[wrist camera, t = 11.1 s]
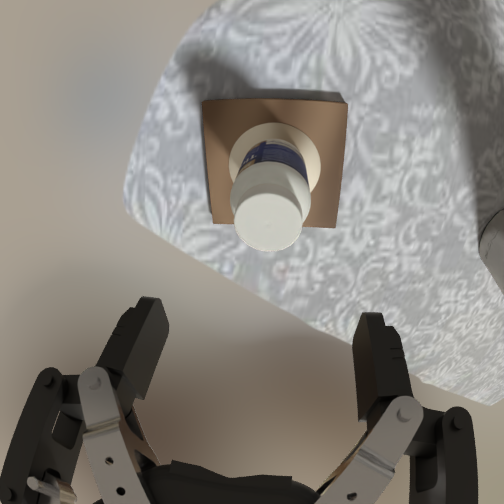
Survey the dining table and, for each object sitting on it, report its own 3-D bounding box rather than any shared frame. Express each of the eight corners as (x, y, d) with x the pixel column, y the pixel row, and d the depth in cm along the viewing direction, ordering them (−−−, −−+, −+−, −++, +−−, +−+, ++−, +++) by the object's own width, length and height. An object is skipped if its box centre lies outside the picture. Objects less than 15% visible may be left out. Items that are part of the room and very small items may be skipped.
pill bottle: (250, 130, 23) (230, 170, 15) (312, 146, 23) (327, 196, 15) (237, 186, 26) (214, 249, 18) (295, 201, 26) (297, 269, 18)
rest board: (345, 102, 21) (348, 104, 20) (333, 222, 28) (335, 228, 27) (204, 100, 22) (201, 102, 21) (215, 218, 29) (212, 224, 29)
